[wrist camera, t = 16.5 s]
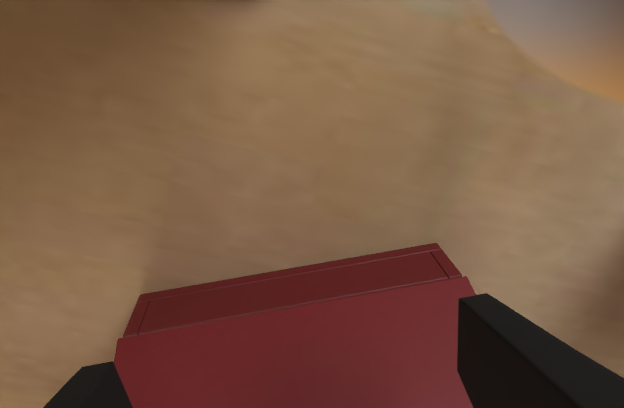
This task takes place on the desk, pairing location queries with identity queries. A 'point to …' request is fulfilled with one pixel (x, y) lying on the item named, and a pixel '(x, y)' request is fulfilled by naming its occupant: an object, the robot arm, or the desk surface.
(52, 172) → the desk surface
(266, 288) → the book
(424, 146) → the desk surface
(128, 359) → the cover
